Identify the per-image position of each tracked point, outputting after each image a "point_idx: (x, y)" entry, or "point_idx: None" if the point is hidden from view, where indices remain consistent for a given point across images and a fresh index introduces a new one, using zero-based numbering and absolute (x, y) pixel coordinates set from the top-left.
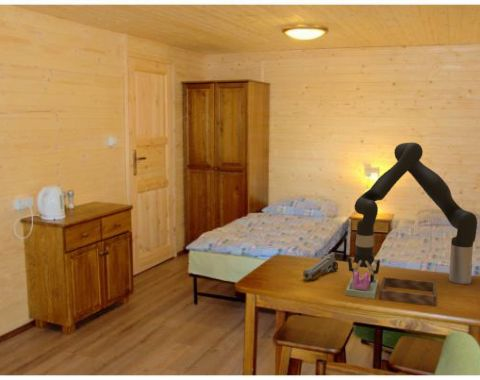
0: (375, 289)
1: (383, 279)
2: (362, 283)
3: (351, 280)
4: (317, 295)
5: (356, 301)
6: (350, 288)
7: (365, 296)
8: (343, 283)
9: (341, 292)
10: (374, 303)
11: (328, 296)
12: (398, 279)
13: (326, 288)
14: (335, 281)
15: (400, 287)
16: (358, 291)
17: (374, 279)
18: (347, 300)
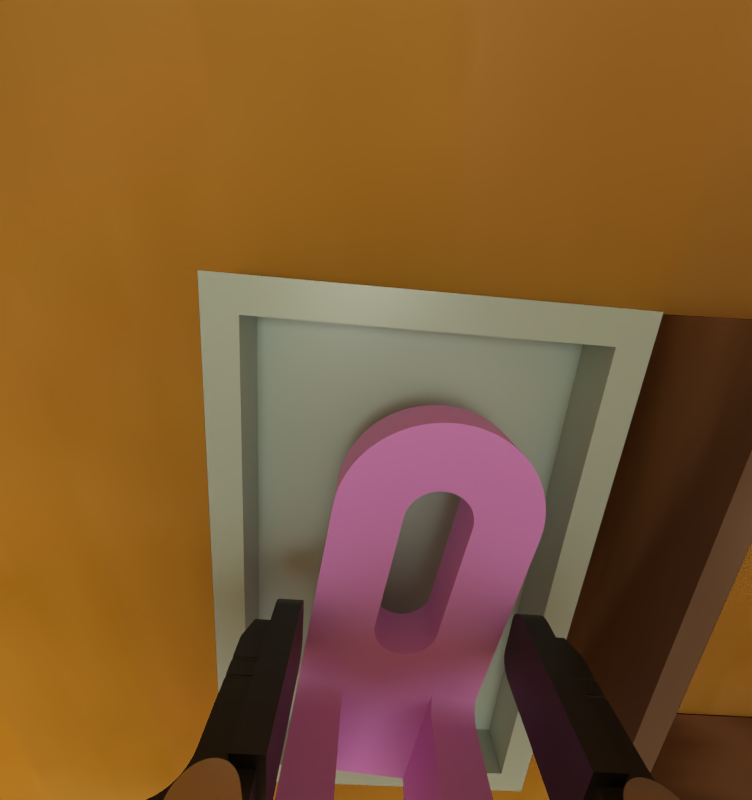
0: None
1: (749, 481)
2: (394, 699)
3: (225, 476)
4: (8, 760)
5: (348, 793)
6: (259, 615)
7: None
8: (139, 377)
9: (189, 654)
10: None
11: (105, 758)
12: None
13: (10, 591)
14: (12, 320)
15: None
16: (354, 781)
17: (587, 334)
18: (276, 791)
